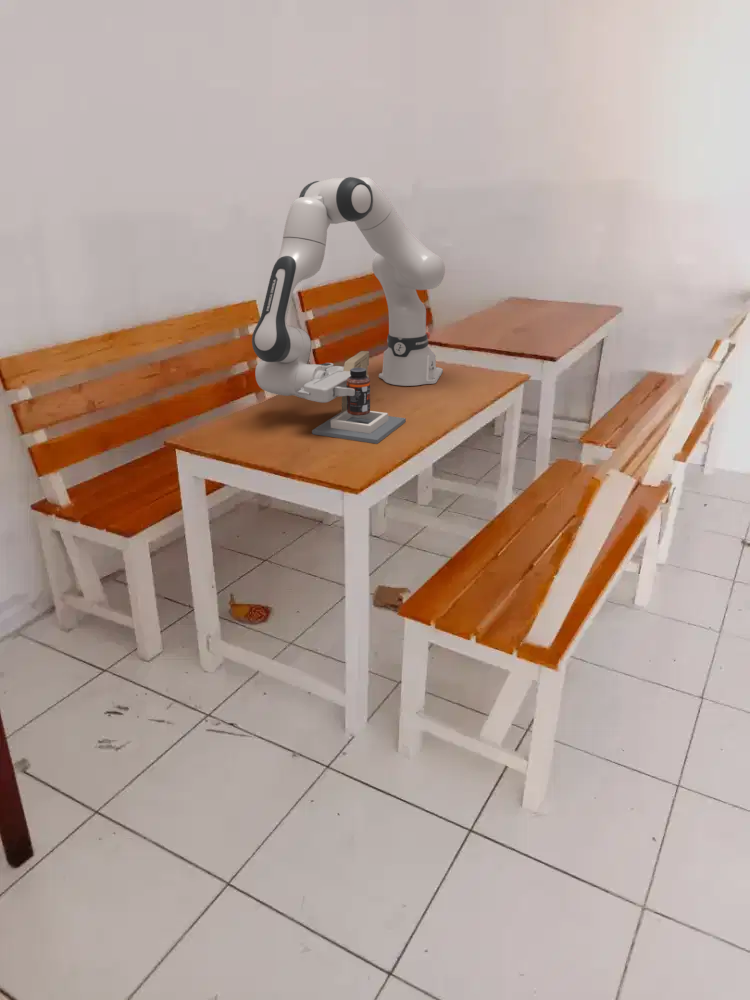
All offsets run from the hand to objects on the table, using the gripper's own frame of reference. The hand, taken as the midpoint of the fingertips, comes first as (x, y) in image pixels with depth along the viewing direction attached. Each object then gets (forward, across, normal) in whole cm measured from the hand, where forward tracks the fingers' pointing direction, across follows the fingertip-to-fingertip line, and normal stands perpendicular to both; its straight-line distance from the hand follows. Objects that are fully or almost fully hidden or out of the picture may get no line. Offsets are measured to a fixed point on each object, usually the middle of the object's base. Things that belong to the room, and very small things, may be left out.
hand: (361, 388), depth 198 cm
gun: (-10, +17, +11) cm, 23 cm away
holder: (-1, 0, +11) cm, 11 cm away
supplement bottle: (-1, 0, +7) cm, 7 cm away
